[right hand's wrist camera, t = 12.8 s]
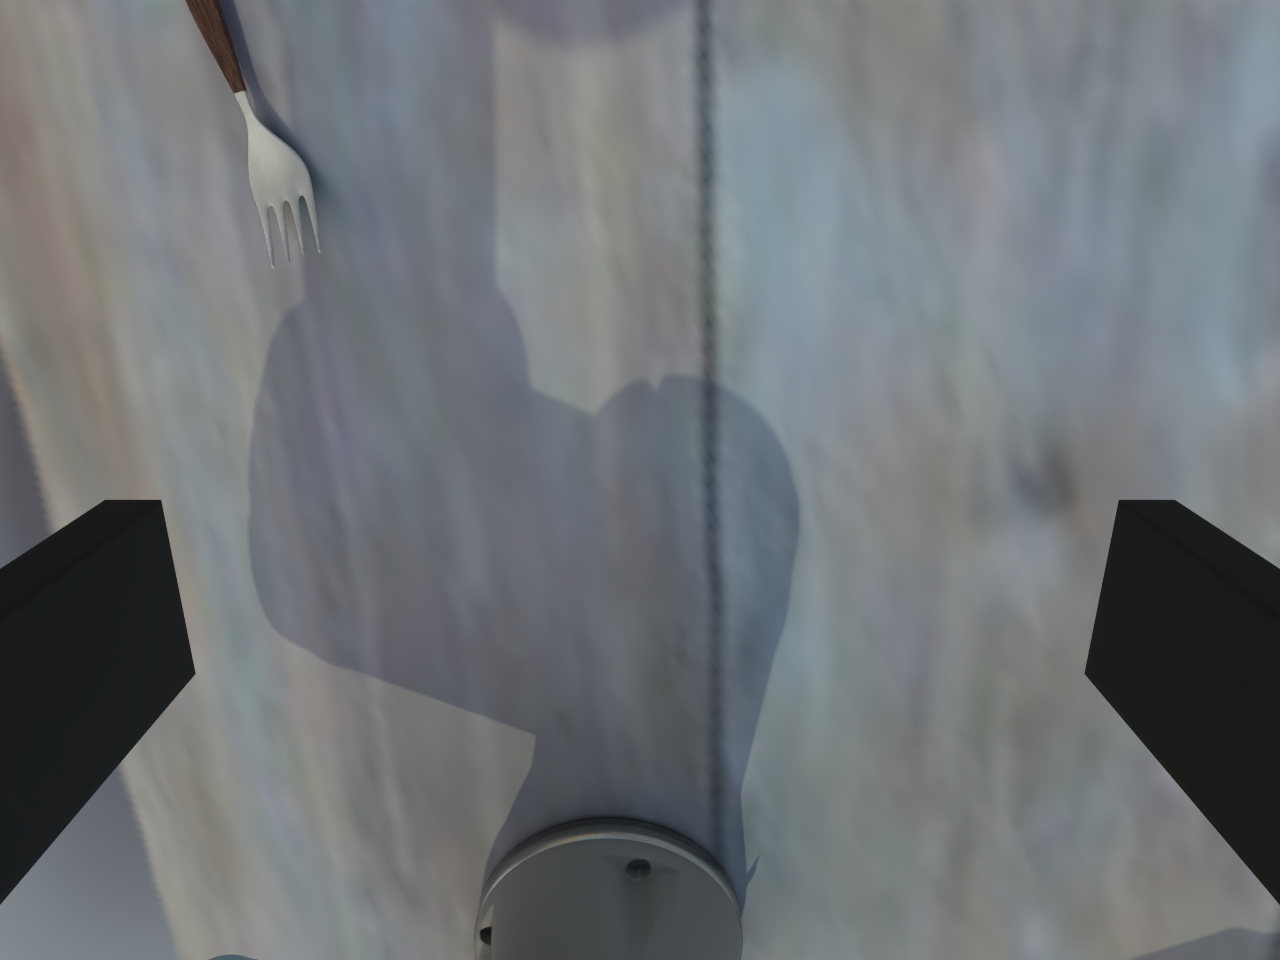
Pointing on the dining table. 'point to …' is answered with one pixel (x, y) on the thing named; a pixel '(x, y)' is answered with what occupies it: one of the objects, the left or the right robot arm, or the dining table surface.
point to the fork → (260, 139)
